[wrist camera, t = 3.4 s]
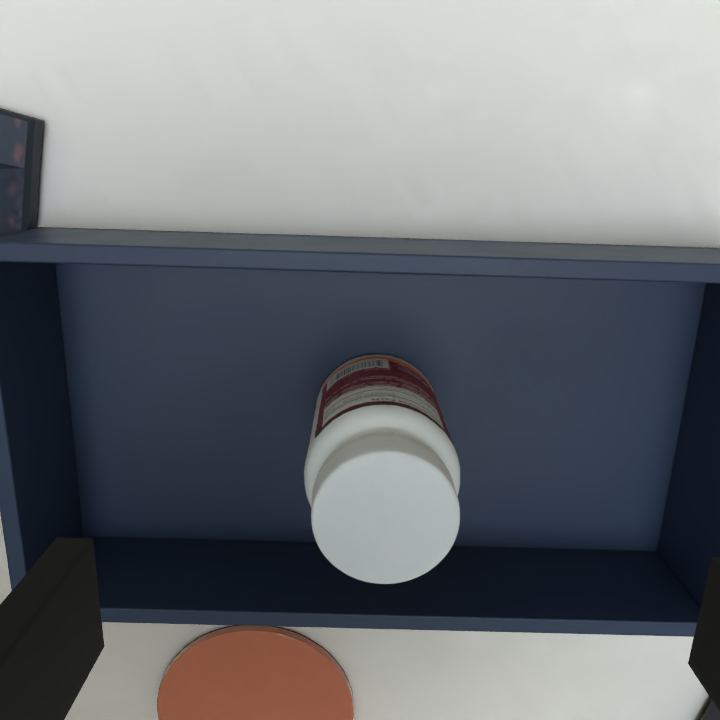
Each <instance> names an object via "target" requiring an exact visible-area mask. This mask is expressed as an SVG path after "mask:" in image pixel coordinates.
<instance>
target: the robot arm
mask: <svg viewBox="0 0 720 720" xmlns="http://www.w3.org/2000/svg"><path fill="white" fill-rule="evenodd" d="M103 648H104V641H103V631H102V621H101V611H100V601H99V591H98V581H97V572H96V562H95V552H94V542H93V538H61V537H57V538H56V539H55V540H54V542H53V543H52V544H51V545H50V546H49V547H48V549H47V550H46V551H45V552H44V553H43V555H42V556H41V557H40V558H39V559H38V561H37V562H36V563H35V564H34V565H33V567H32V568H31V569H30V570H29V571H28V572H27V574H26V575H25V576H24V577H23V578H22V580H21V581H20V582H19V583H18V584H17V586H16V587H15V588H14V589H13V590H12V592H11V593H10V594H9V595H8V596H7V597H6V599H5V600H4V601H3V602H2V603H1V605H0V720H64V719H65V717H66V715H67V713H68V712H69V710H70V708H71V706H72V704H73V702H74V701H75V699H76V697H77V695H78V693H79V691H80V690H81V688H82V686H83V684H84V682H85V680H86V679H87V677H88V675H89V673H90V671H91V669H92V668H93V666H94V664H95V662H96V660H97V659H98V657H99V655H100V653H101V651H102V649H103ZM688 664H689V666H690V667H691V669H692V670H693V672H694V673H695V675H696V676H697V678H698V679H699V681H700V682H701V684H702V685H703V687H704V688H705V690H706V691H707V693H708V694H709V696H710V698H711V699H712V701H713V702H714V704H715V705H716V707H717V708H718V710H719V711H720V557H711V561H710V565H709V570H708V574H707V579H706V584H705V588H704V593H703V598H702V602H701V607H700V611H699V616H698V621H697V625H696V630H695V635H694V639H693V644H692V648H691V653H690V658H689V662H688Z"/></svg>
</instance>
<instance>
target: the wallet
mask: <svg viewBox="0 0 720 720" xmlns="http://www.w3.org/2000/svg"><path fill="white" fill-rule="evenodd" d="M43 122H44V121H43V120H39V119H36V118H32V117H29V116H25V115H22V114H18V113H15V112H11V111H8V110H4V109H1V108H0V234H4V233H10V232H16V231H22V230H28V229H34V228H36V223H37V211H38V193H39V174H40V160H41V147H42V134H43Z"/></svg>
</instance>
